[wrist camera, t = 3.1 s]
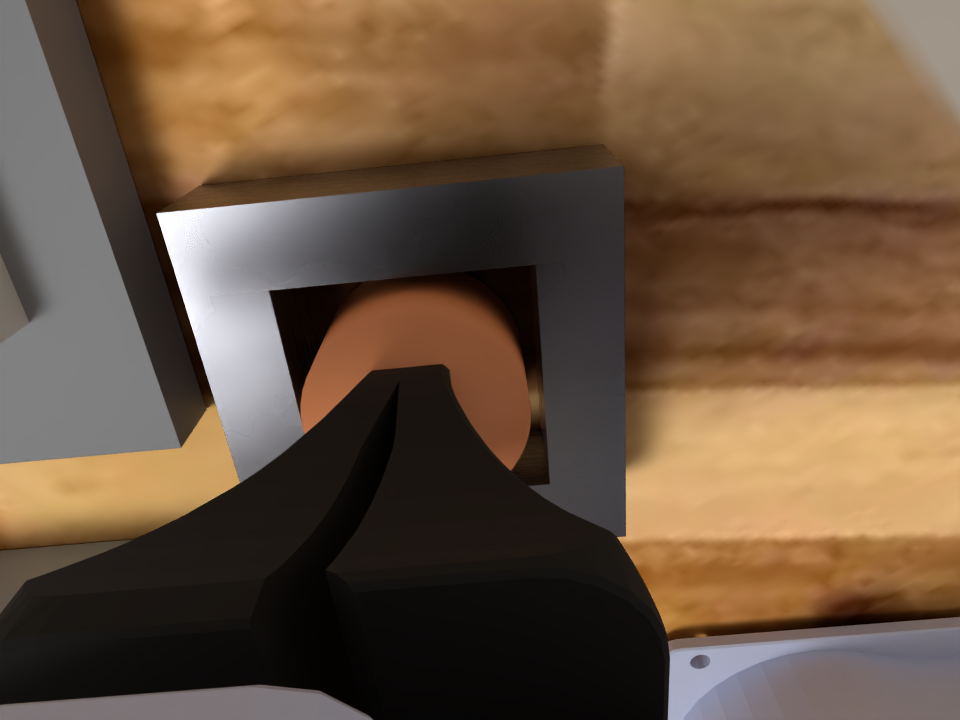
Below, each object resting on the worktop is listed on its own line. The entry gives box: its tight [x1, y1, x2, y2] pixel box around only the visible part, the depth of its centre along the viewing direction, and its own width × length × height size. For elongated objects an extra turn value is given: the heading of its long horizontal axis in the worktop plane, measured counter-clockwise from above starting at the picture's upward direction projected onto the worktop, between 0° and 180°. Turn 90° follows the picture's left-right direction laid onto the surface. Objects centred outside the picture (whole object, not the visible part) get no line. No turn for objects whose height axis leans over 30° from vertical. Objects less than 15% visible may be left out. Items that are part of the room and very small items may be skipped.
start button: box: [301, 272, 531, 471], centre depth 13 cm, size 4×4×2 cm
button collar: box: [156, 144, 626, 537], centre depth 14 cm, size 8×8×2 cm
